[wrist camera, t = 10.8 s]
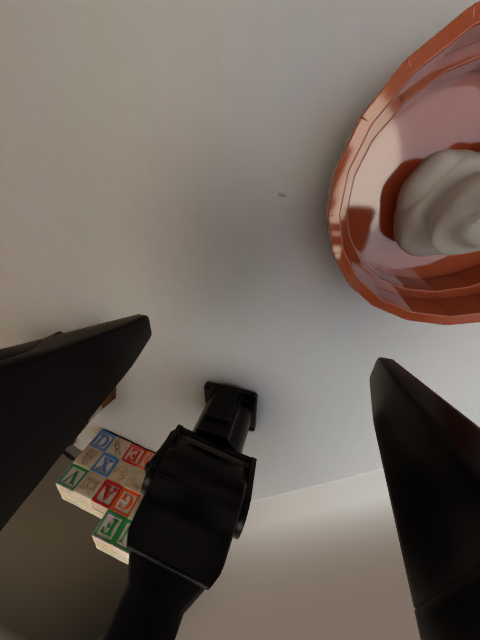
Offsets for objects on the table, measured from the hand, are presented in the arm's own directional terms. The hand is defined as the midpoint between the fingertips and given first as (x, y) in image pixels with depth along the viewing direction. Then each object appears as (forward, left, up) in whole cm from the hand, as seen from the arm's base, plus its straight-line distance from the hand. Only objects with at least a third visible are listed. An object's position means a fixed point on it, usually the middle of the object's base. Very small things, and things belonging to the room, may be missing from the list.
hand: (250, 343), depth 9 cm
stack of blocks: (-38, +20, -12) cm, 45 cm away
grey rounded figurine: (+5, -9, -11) cm, 15 cm away
